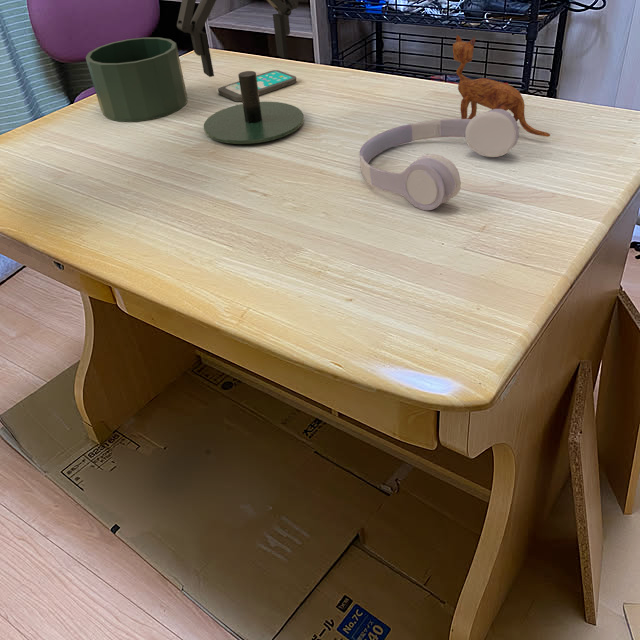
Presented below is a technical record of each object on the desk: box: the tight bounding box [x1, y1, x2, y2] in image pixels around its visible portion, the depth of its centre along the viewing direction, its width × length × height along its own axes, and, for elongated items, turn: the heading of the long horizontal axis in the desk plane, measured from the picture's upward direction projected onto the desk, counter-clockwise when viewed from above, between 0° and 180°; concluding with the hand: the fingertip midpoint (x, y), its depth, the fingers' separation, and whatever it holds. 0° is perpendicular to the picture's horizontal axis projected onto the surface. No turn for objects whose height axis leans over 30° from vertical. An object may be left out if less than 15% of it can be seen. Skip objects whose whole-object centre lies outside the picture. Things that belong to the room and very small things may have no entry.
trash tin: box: [85, 37, 188, 123], centre depth 120 cm, size 17×17×10 cm
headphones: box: [358, 109, 520, 211], centre depth 92 cm, size 22×7×20 cm
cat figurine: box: [452, 34, 551, 138], centre depth 98 cm, size 18×7×14 cm, turn 50°
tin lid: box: [203, 70, 305, 145], centre depth 108 cm, size 18×18×9 cm
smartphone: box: [217, 69, 298, 102], centre depth 126 cm, size 9×1×15 cm
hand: (246, 65), depth 105 cm, fingers open, 13 cm apart
